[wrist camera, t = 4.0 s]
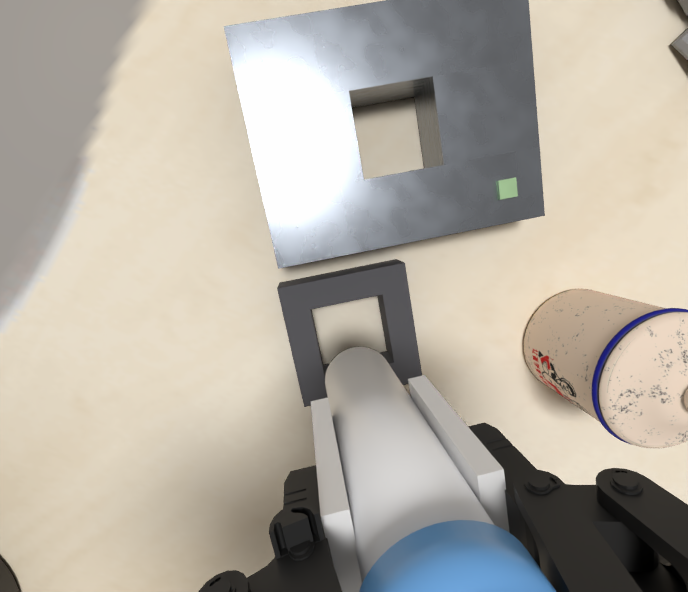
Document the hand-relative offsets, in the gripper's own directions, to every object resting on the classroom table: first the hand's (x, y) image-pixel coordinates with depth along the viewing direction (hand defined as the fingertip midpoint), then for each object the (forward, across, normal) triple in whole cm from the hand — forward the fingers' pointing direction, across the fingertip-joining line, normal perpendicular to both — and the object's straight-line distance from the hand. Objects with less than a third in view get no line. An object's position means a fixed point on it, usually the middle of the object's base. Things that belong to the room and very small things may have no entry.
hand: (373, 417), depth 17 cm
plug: (+4, 0, 0) cm, 4 cm away
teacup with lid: (+13, +20, -6) cm, 25 cm away
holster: (+14, +1, 0) cm, 14 cm away
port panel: (+14, +6, +13) cm, 20 cm away
